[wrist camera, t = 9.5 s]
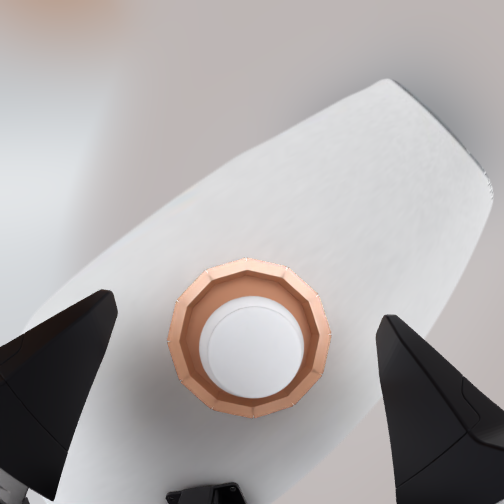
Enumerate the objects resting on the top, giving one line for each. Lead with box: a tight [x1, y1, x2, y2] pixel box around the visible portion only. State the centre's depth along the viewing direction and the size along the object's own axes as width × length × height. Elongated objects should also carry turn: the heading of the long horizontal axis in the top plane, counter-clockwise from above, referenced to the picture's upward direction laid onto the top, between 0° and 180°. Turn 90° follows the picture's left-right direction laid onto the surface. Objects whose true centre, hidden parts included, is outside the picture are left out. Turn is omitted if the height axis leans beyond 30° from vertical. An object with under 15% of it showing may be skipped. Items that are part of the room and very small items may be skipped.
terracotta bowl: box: [167, 258, 331, 418], centre depth 21 cm, size 11×11×3 cm
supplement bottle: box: [199, 296, 304, 398], centre depth 17 cm, size 5×5×10 cm
